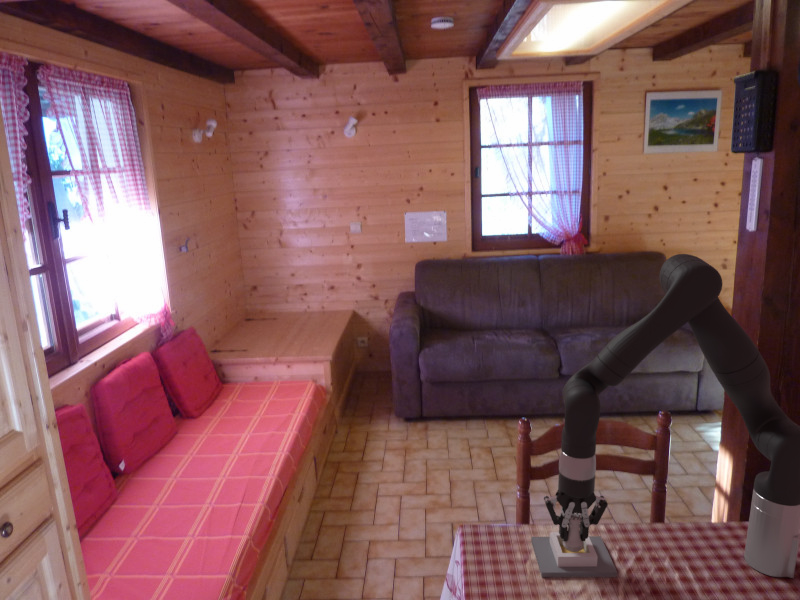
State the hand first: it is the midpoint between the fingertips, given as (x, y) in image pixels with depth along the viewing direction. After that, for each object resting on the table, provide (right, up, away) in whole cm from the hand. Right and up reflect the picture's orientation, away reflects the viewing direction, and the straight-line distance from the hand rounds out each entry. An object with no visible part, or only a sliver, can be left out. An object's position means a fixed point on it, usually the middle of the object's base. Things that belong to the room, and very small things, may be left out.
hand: (573, 538), depth 132 cm
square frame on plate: (0, -5, +1) cm, 5 cm away
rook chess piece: (0, -2, +1) cm, 2 cm away
